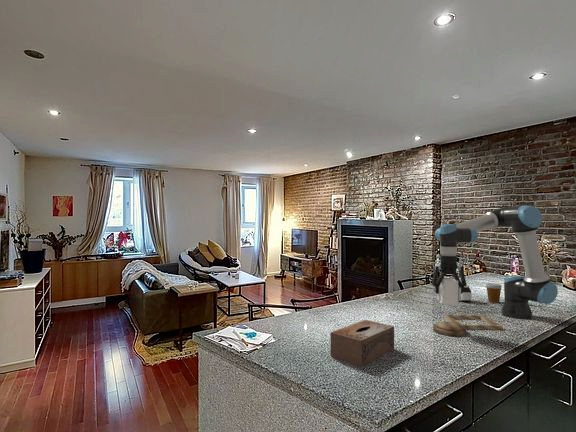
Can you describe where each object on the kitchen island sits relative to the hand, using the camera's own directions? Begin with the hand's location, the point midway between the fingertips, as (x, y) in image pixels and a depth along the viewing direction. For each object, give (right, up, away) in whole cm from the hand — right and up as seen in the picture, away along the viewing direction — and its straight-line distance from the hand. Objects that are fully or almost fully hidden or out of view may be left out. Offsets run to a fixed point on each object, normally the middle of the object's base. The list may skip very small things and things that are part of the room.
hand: (449, 300), depth 172 cm
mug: (-1, -2, 0) cm, 2 cm away
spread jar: (+39, -17, +66) cm, 79 cm away
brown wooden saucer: (0, -16, 0) cm, 16 cm away
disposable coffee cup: (+60, -17, +63) cm, 89 cm away
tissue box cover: (-49, -16, -28) cm, 58 cm away
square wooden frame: (+19, -16, +13) cm, 28 cm away
